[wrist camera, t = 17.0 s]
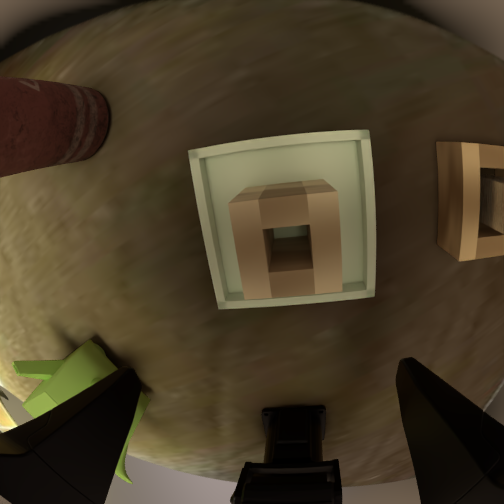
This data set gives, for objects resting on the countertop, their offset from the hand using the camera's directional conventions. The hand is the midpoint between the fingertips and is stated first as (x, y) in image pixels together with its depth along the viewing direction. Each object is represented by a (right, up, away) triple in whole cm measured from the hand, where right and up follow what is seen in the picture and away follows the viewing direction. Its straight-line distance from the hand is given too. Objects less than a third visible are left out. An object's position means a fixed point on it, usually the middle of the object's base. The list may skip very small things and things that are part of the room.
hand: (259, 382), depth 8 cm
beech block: (+2, +6, +10) cm, 12 cm away
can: (-14, +14, +10) cm, 22 cm away
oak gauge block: (+17, +9, +8) cm, 21 cm away
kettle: (-17, -11, +20) cm, 28 cm away
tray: (+2, +6, +11) cm, 13 cm away
